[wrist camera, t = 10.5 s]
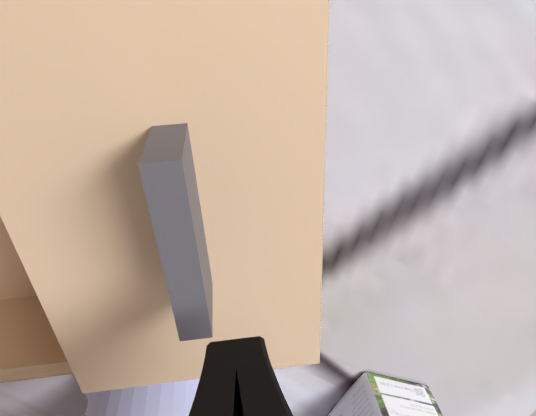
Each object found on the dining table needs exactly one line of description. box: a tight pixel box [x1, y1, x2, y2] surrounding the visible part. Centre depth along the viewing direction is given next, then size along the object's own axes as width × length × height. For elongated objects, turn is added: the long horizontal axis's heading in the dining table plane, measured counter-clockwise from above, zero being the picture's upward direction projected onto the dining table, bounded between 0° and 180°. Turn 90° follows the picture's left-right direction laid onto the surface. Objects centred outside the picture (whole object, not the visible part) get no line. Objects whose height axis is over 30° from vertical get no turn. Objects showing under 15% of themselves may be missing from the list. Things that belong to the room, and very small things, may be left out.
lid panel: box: [0, 0, 329, 394], centre depth 12 cm, size 16×10×3 cm, turn 3°
